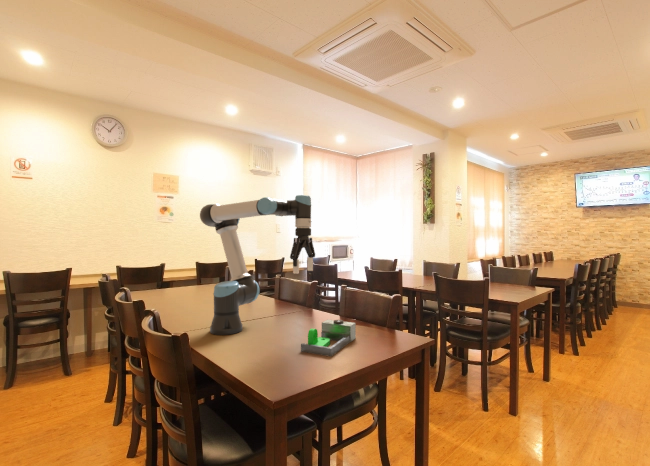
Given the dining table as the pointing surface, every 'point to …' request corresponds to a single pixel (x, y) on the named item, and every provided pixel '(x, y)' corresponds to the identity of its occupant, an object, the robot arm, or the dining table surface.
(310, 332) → the mechanical part
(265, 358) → the dining table surface
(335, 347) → the knobbed latch bracket
